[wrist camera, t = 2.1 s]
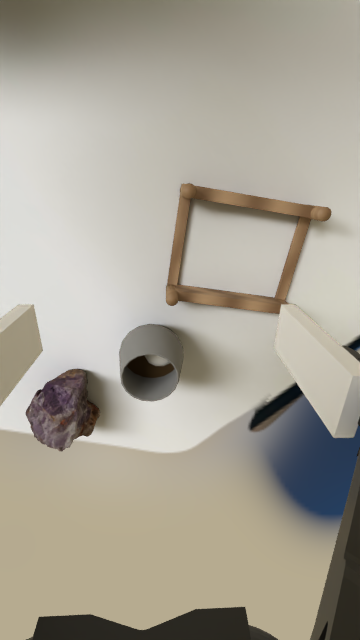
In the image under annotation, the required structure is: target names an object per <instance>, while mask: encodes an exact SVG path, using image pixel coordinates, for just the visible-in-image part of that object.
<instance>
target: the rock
mask: <svg viewBox="0 0 360 640" xmlns="http://www.w3.org/2000/svg"><path fill="white" fill-rule="evenodd" d="M86 387H87V374H86V373H85V372H84V371H83V370H79V369H72V370H68V371H66V372H65V373H62V374H61V375H59V376H58V377H57V378H55V379H53V380H51V381H49V382H47V383H46V384H45V386H44V388H43V389H42V390H41V389H40V390H38V391H37V392H36V394H35V396H34V398H33V399H32V401H31V404H30V406H29V407H28V409H27V410H26V416H27V418H28V421H29V422H30V424H31V429H32V431H33V433H34V437H36V438H37V440H38V441H40V442H41V443H42V444H46V445H47V446H48V447H50V448H55V449H58V450H59V451H63V450H64V449H65V448H68V447H70V445H71V444H72V442H73V440H74V439H76V438H78V437H79V436H82V435H84V436H87V437H88V436H89V435H91V434H92V432H93V429H94V426H95V423H96V420H97V418H98V417H99V416H100V411H99V408H97V407H96V406H95V405H94V404H92V403H89V401H88V400H87V397H88V391H87V389H86Z"/></svg>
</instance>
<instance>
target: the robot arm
mask: <svg viewBox="0 0 360 640" xmlns="http://www.w3.org/2000/svg"><path fill="white" fill-rule="evenodd" d="M274 350H275V352H276V353H277V354H278V356H279V357H280V359H281V360H282V362H283V363H284V365H285V366H286V368H287V369H288V371H289V372H290V374H291V375H292V377H293V378H294V380H295V381H296V383H297V384H298V386H299V387H300V389H301V390H302V392H303V393H304V395H305V396H306V397H307V399H308V400H309V402H310V403H311V405H312V406H313V408H314V409H315V411H316V412H317V414H318V415H319V417H320V418H321V420H322V421H323V423H324V424H325V425H326V427H327V429H328V430H329V431H330V433H331V435H332V436H333V437H334V438H350V437H354V435H355V432H356V429H357V427H358V425H359V426H360V354H359V353H358V352H356V351H355V350H353V349H351V348H349V347H347V346H341V345H340V344H339V343H338V342H337V341H336V340H334V339H333V338H332V337H331V336H330V335H329V334H328V333H327V332H325V331H324V330H323V329H322V328H321V327H320V326H319V325H318V324H316V323H315V322H314V321H313V320H312V319H311V318H310V317H309V316H307V315H306V314H305V313H304V312H303V311H302V310H301V309H300V308H299V307H297V306H296V305H295V304H281V309H280V315H279V320H278V326H277V332H276V338H275V344H274ZM42 351H43V349H42V344H41V339H40V334H39V329H38V324H37V319H36V314H35V309H34V305H17V306H16V307H15V308H13V309H12V310H11V311H10V312H8V313H7V314H6V315H4V316H3V317H2V318H1V319H0V406H1V405H2V403H3V402H4V401H5V399H6V398H7V397H8V395H9V394H10V393H11V391H12V390H13V389H14V388H15V386H16V385H17V384H18V382H19V381H20V380H21V378H22V377H23V376H24V375H25V373H26V372H27V371H28V369H29V368H30V367H31V365H32V364H33V363H34V361H35V360H36V359H37V358H38V356H39V355H40V354H41V352H42ZM357 456H358V459H357V463H356V467H355V471H354V475H353V479H352V483H351V486H350V490H349V494H348V498H347V502H346V506H345V509H344V513H343V517H342V521H341V525H340V529H339V533H338V537H337V540H336V545H335V548H334V552H333V556H332V560H331V564H330V568H329V571H328V575H327V580H326V583H325V587H324V591H323V595H322V599H321V602H320V606H319V610H318V614H317V618H316V622H315V625H314V629H313V632H312V635H311V638H310V640H360V448H359V451H358V454H357ZM26 640H278V639H277V638H275V637H274V636H272V635H271V634H269V633H267V632H265V631H263V630H261V629H259V628H256V627H253V626H250V625H248V620H247V614H246V609H245V607H234V608H213V609H195V610H193V611H191V612H188V613H186V614H183V615H181V616H178V617H176V618H174V619H171V620H169V621H166V622H164V623H162V624H159V625H157V626H154V627H152V628H150V629H147V630H137V629H134V628H131V627H128V626H125V625H121V624H118V623H116V622H112V621H109V620H106V619H103V618H100V617H97V616H94V615H69V616H49V617H39V619H38V622H37V625H36V629H35V632H34V635H33V637H31V638H29V639H26Z"/></svg>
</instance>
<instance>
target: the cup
mask: <svg viewBox="0 0 360 640" xmlns="http://www.w3.org/2000/svg"><path fill="white" fill-rule="evenodd" d="M119 356H120V376H121V383H122V386H123V387H124V389H125V391H126V392H127V393H129V394H130V395H131V396H132V397H134V398H137V399H139V400H142V401H157V400H161V399H163V398H165V397H167V396H169V395H170V394H171V393H172V392H173V391H174V390H175V389H176V386H177V384H178V381H179V377H180V372H181V367H182V362H183V347H182V344H181V342H180V340H179V338H178V337H177V336H176V335H175V334H174V333H173V332H172V331H171V330H170V329H168V328H165V327H163V326H161V325H154V324H148V325H143V326H139V327H137V328H135V329H134V330H132V331H130V332H129V333H128V335H127V336H126V337H125V338H124V340H123V341H122V344H121V348H120V351H119Z"/></svg>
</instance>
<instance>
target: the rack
mask: <svg viewBox="0 0 360 640" xmlns="http://www.w3.org/2000/svg"><path fill="white" fill-rule="evenodd" d="M191 198H194V199H200V200H206V201H212V202H218V203H224V204H230V205H236V206H242V207H248V208H254V209H260V210H266V211H271V212H277V213H283V214H289V215H295V216H300V217H299V220H298V224H297V227H296V230H295V233H294V237H293V240H292V243H291V246H290V250H289V253H288V256H287V259H286V263H285V266H284V269H283V272H282V276H281V279H280V282H279V286H278V289H277V292H276V295H275V298H273V297H266V296H258V295H251V294H244V293H236V292H229V291H222V290H214V289H207V288H200V287H192V286H185V285H178V284H177V282H178V276H179V269H180V263H181V257H182V250H183V244H184V238H185V231H186V225H187V219H188V212H189V206H190V200H191ZM330 216H331V210H330V209H329V208H328V207H320V206H312V205H303V204H297V203H292V202H286V201H280V200H274V199H269V198H263V197H257V196H251V195H245V194H240V193H234V192H228V191H222V190H217V189H211V188H205V187H199V186H194V185H192V184H190V183H188V184H182V185H181V188H180V199H179V206H178V213H177V220H176V227H175V234H174V241H173V248H172V255H171V262H170V269H169V275H168V282H167V286H166V302H167V304H168V305H170V306H174V305H176V304H177V303H178V301H185V302H192V303H200V304H208V305H215V306H223V307H231V308H238V309H246V310H254V311H261V312H269V313H277V314H280V309H281V304H288V303H287V302H286V301H285V298H286V295H287V292H288V289H289V286H290V283H291V280H292V277H293V274H294V271H295V267H296V264H297V261H298V258H299V255H300V252H301V249H302V246H303V243H304V240H305V236H306V233H307V230H308V227H309V224H310V221H311V219H314V220H319V221H327V220H328V219H329V218H330Z"/></svg>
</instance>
